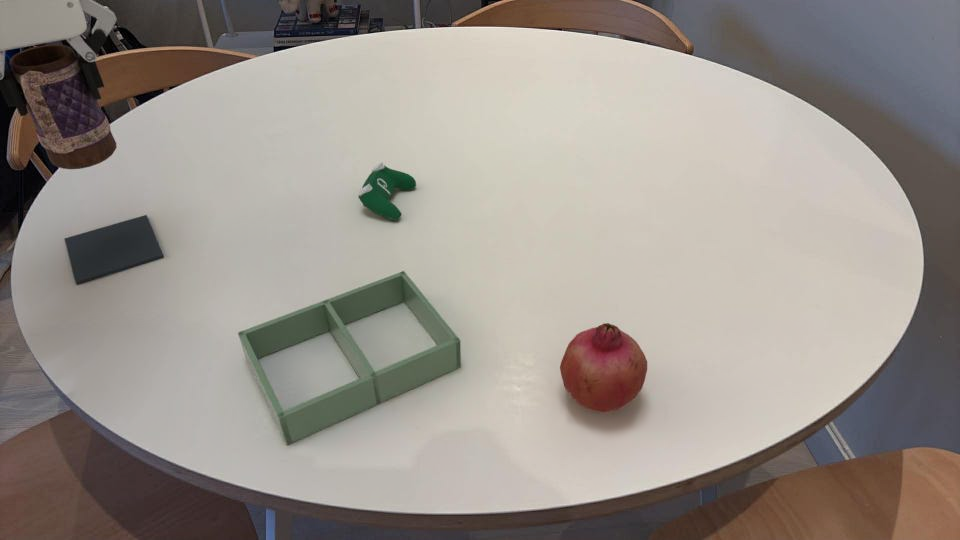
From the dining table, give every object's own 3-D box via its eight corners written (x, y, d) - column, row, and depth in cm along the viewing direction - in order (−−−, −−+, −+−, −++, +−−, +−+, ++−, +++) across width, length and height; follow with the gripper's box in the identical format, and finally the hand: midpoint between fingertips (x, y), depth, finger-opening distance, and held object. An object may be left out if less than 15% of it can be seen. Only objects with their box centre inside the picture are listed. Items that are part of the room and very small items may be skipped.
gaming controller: (403, 194, 100) (371, 166, 98) (420, 180, 98) (388, 151, 96) (384, 232, 93) (349, 203, 91) (401, 218, 91) (367, 187, 89)
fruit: (576, 440, 66) (587, 368, 59) (545, 377, 72) (552, 306, 65) (654, 420, 67) (672, 348, 61) (617, 360, 73) (631, 289, 67)
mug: (58, 143, 81) (12, 42, 73) (123, 135, 82) (84, 35, 74) (35, 190, 73) (-20, 83, 65) (107, 181, 74) (61, 75, 66)
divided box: (286, 445, 65) (278, 418, 63) (246, 359, 73) (237, 332, 71) (461, 367, 73) (460, 340, 70) (406, 296, 81) (403, 270, 78)
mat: (76, 284, 83) (75, 282, 82) (65, 240, 89) (64, 238, 89) (163, 257, 87) (163, 254, 86) (147, 217, 93) (146, 214, 93)
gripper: (82, -105, 68) (140, 71, 79) (-133, -81, 61) (-36, 108, 72) (94, -88, 63) (153, 97, 74) (-139, -61, 56) (-34, 139, 67)
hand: (59, 101), depth 73 cm, fingers closed on mug, 6 cm apart
